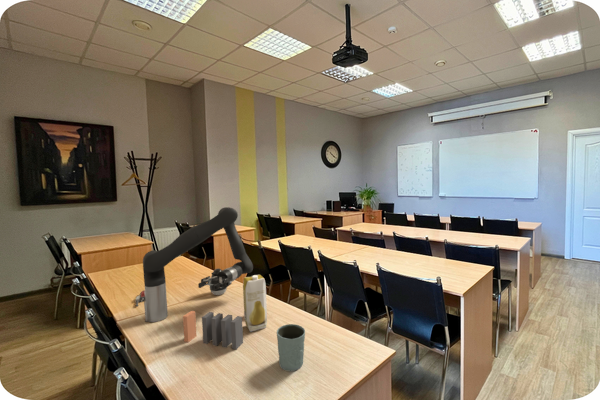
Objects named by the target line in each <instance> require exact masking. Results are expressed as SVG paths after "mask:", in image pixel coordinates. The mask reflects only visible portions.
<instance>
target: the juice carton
mask: <svg viewBox="0 0 600 400" xmlns="http://www.w3.org/2000/svg"><path fill="white" fill-rule="evenodd" d="M266 285H267V284H266V280H265V278H264V277H263V276H262V275H261V274H254V275H251V276H246V277H244V276H243V284H242V292H243V293H242V294H243V296H242V297H243V315H244V317H243V318H244V323H245V326H246V328H247V329H248V331H249V332H250V333H252V332H255V331H258V330H263V329H265V328H267V325H268V324H267V323H268V310H267V309H268V306H267V305H268V304H267V288H266V287H267V286H266Z"/></svg>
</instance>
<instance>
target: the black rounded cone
mask: <svg viewBox="0 0 600 400" xmlns="http://www.w3.org/2000/svg"><path fill="white" fill-rule="evenodd" d="M222 270H223V269H222V268H214V270H213V271H212V272H211V276H210V278H212V277H215V276H216V275H217V273H218V272H220V271H222ZM210 284H211V281H210ZM227 288H228V287H226V288H224V287H222V288H219V289H217V290H214V285H210V286H209V290H210V293H211V294H213V295H214V296H221V295H224V294H225V293H226V292H227Z"/></svg>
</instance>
